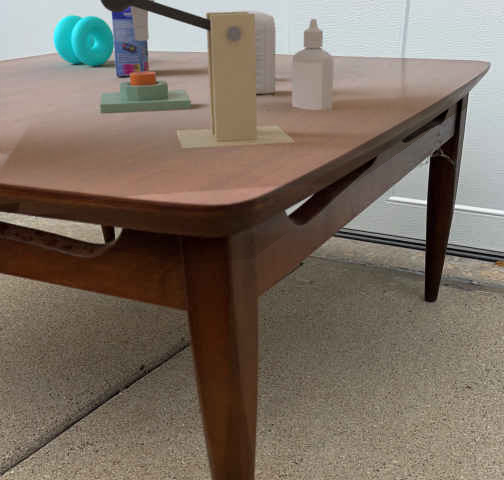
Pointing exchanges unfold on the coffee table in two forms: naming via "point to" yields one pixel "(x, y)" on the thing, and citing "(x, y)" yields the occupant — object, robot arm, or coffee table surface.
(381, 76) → the coffee table surface
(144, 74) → the button
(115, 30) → the ink cartridge box
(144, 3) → the lever
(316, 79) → the eye dropper bottle
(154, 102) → the button box
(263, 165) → the coffee table surface
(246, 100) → the bracket
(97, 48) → the cyan double wheel
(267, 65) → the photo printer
